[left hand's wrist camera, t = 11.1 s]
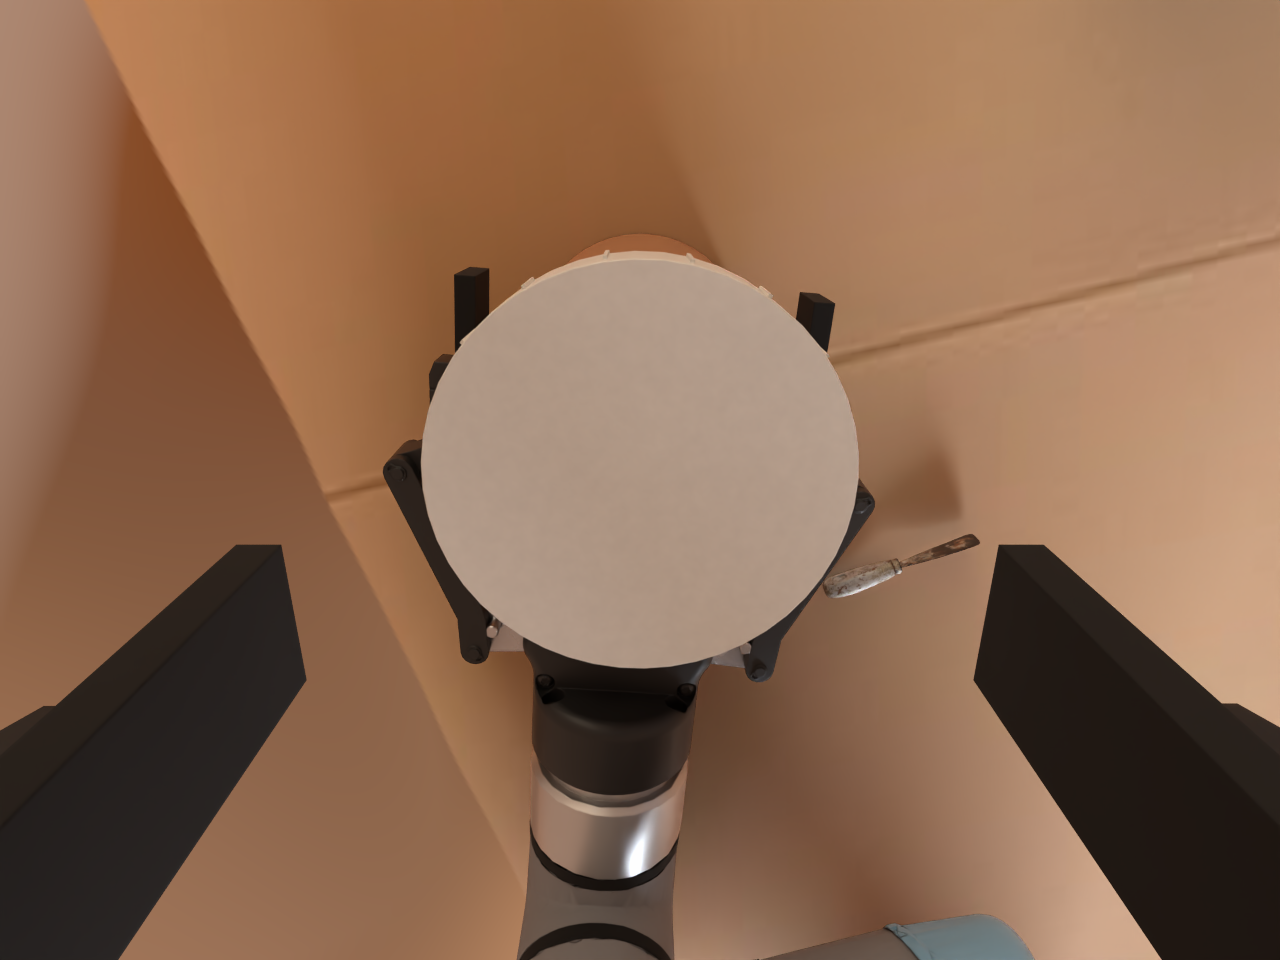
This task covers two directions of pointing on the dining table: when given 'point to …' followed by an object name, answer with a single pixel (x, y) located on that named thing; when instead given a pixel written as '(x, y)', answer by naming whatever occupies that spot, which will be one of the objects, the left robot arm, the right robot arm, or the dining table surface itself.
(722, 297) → the lid
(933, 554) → the putty knife
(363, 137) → the dining table surface
